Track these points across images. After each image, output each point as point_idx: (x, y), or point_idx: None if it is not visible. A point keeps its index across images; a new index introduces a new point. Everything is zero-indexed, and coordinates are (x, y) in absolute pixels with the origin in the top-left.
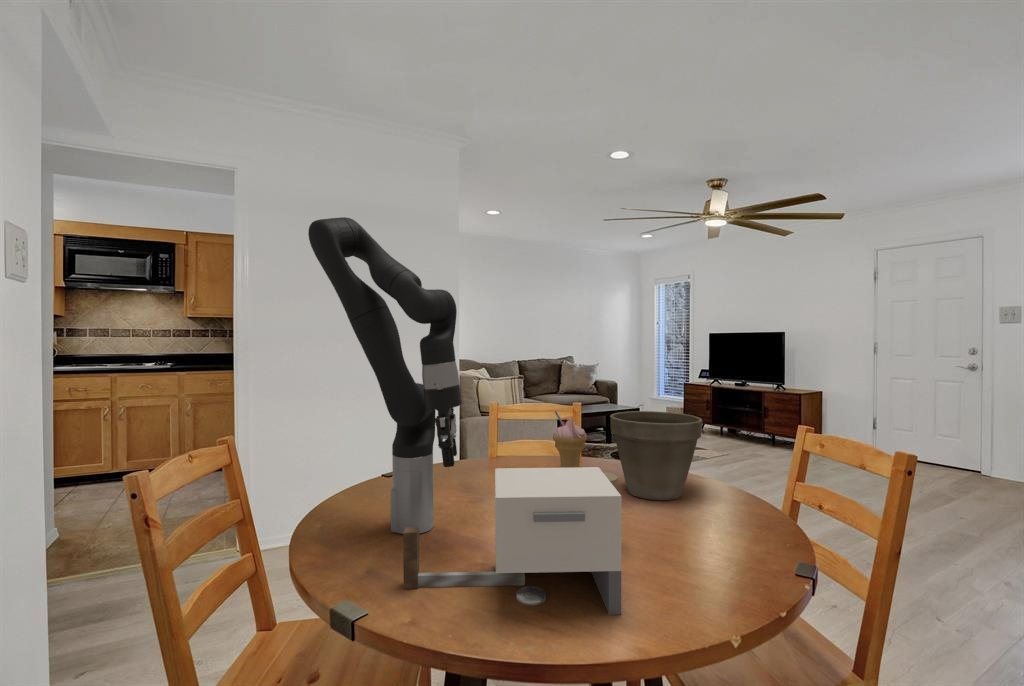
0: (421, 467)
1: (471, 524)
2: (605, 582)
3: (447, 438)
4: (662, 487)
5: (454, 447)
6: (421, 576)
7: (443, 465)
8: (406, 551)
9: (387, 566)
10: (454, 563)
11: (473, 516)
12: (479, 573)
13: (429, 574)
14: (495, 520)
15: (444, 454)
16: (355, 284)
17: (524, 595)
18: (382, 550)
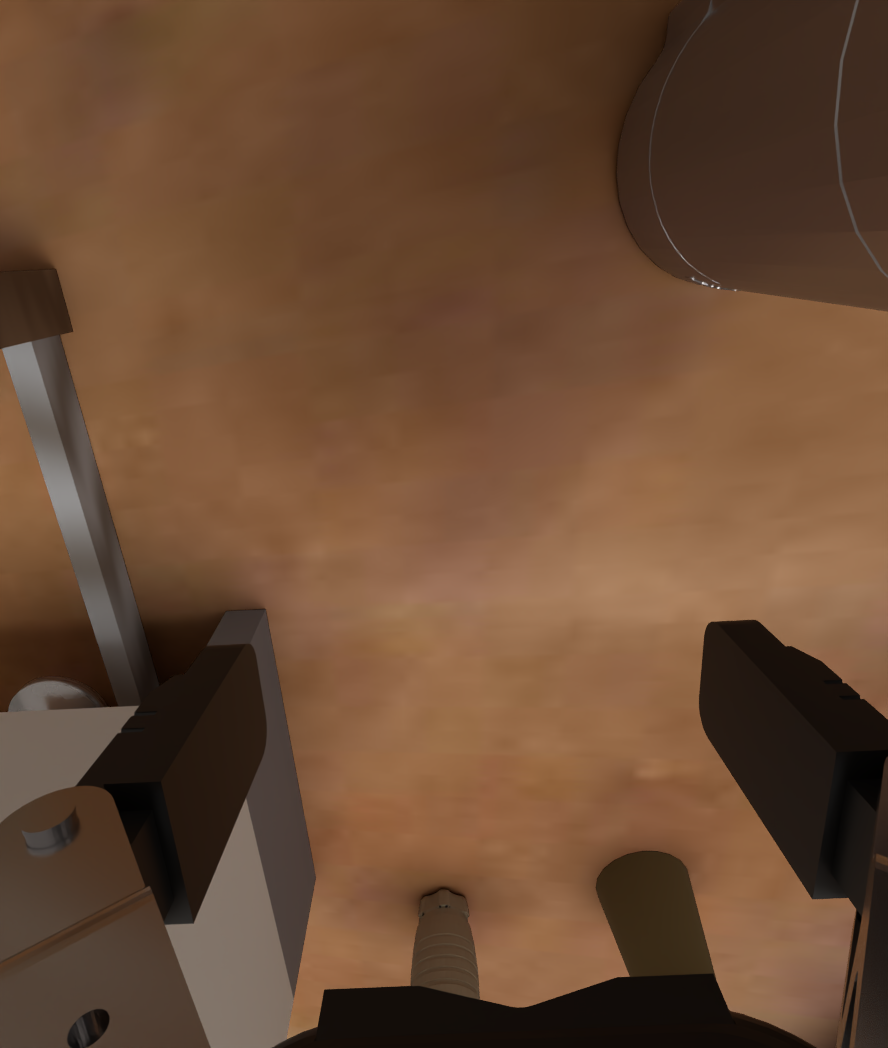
0: (877, 219)
1: (728, 483)
2: None
3: (861, 808)
4: None
5: (745, 776)
6: (7, 356)
7: (205, 648)
8: None
9: (202, 124)
10: (277, 455)
11: (841, 483)
12: (89, 585)
13: (28, 391)
14: (21, 787)
15: (94, 773)
16: None
17: (39, 705)
18: (402, 28)
